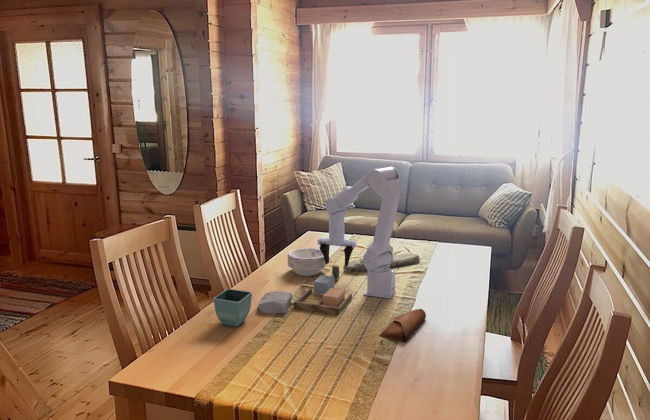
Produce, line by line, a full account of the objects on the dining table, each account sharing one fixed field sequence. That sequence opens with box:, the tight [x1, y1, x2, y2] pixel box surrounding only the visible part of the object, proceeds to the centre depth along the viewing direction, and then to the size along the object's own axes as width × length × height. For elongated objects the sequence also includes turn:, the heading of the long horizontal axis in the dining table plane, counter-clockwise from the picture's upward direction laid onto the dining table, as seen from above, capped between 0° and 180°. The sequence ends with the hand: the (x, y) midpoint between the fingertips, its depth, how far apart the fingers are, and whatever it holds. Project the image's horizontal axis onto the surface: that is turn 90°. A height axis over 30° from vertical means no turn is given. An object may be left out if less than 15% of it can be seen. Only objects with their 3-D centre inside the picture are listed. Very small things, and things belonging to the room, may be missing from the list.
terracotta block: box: [322, 287, 346, 307], centre depth 170 cm, size 5×7×4 cm
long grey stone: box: [342, 253, 421, 273], centre depth 209 cm, size 35×5×10 cm
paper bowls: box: [287, 247, 328, 277], centre depth 201 cm, size 15×15×8 cm
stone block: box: [258, 290, 293, 314], centre depth 170 cm, size 12×5×10 cm
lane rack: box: [293, 288, 353, 316], centre depth 172 cm, size 15×14×2 cm
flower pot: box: [212, 288, 253, 328], centre depth 157 cm, size 9×9×9 cm
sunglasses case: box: [379, 308, 427, 343], centre depth 153 cm, size 18×7×7 cm
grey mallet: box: [313, 264, 340, 296], centre depth 187 cm, size 5×17×5 cm, turn 160°
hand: (336, 264), depth 194 cm, fingers open, 7 cm apart
